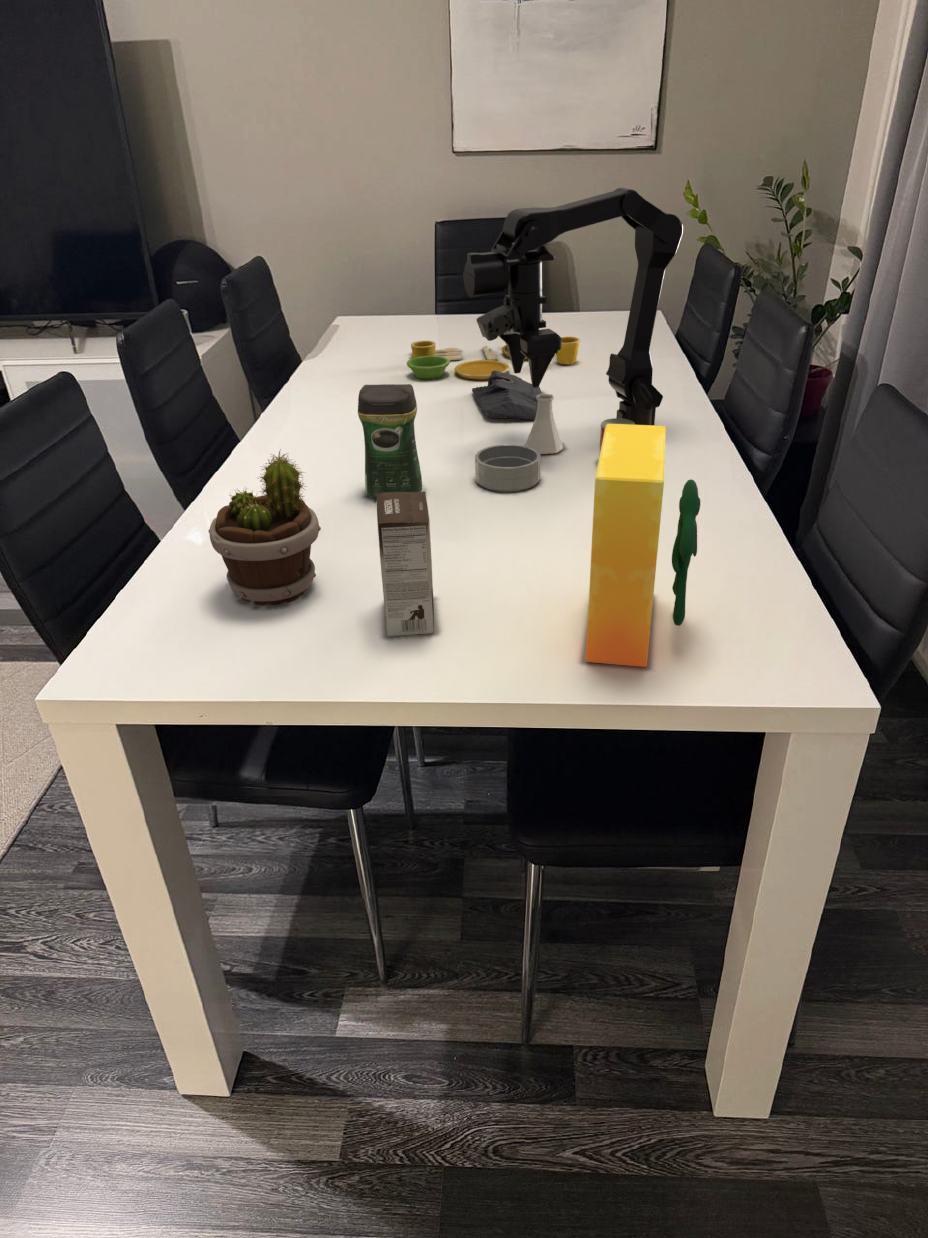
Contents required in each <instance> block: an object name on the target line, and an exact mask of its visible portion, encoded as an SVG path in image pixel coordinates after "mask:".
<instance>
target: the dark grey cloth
mask: <svg viewBox="0 0 928 1238" xmlns="http://www.w3.org/2000/svg"><path fill="white" fill-rule="evenodd" d="M471 392H472V395H473V396H474V399H475V400H476V402H477V403H478V405H479V406H480V408H481V409H482V411H483V413H484V414H485V415H486V416H487V417H489V418H496V419H519V420H520V419H521V420H532V421H534V420H535V417H536V413H537V408H538V400H537V398H536V396H537V395H539V394H543V393H542V389H541V387H540V386H539V387H535V388H534V387H532V383H531V382H528V381H526V380H523V379H522V378H521V377H519V376H517V375H516V374H510V373H507V372H506V373H502V372H499V371H492V373H491V376H490V377H489V378H488V379H487V385H483V386H476V387H472V389H471Z"/></svg>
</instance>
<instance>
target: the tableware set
mask: <svg viewBox="0 0 928 1238" xmlns="http://www.w3.org/2000/svg"><path fill="white" fill-rule="evenodd" d="M560 337H561V338H562V344H561V350H558V353H556V354H555V355H556V361H557V363H558V364H561V365H573V364H575V363H576V362H577V358H578V353H579V348H580V343H581V342H580V341H581V339H580V338H579V337H576V336H560ZM436 345H437V344H436V342H435V341H433V340H418V341H414V342H412V343H410V347H411V358H410V359H408V360H407V361H406V366H407V367H408V369H410V370H411V371H412V374H414V376H415V377H416V378H418V379H419V380H420V379H421V380H435V379H438V378H440V377H442V376H443V374H444V373H445V371H446V369H447V367H448V366H449V365H450V363H451V361H460V360H462V354H461V352H460V351H461V349H460V348H459V347H447V348H443V349H436ZM482 350H483V354H484V357H485V359H479V360H469V361H464V362H461V363H459V364H457V365H456V366H455V367H454V368H453V369H454V370H453V371H454V372H455V373H456V374H458V376H459V377H461V378H464V379H469V380H488V378H489V377H490V376H491V373H492V371H499V372H502V373H506V374H507V372H508V371H509V370H510V365H509V364H508V363H505V362H503V361H499V360H497V355H496V353H495V352H494V351H490V347H489V345H484V346H483V347H482ZM501 351H502V353H503V354H505V356H506V357H508V358H510V356H509V352H508V349H507V346H506V344H505V345H504V346H502V347H501ZM524 360H528V358H527V357H526V356H525V359H524Z"/></svg>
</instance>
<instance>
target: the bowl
mask: <svg viewBox="0 0 928 1238" xmlns="http://www.w3.org/2000/svg"><path fill="white" fill-rule="evenodd" d="M541 459H542V458H541V454H540V453H539V452H538V451H537V450H535V449H533V448H530V447H527V446H525V445H522V444H510V443H507V444H496V445H491V446H487V447H483V448H481V449H480V450H477V451H476V453H475V454H474V473H475V481H476V483H477V484H478V485H479V486H481V487H483V488H484V489H486V490H490V491H493V492H498V493H499V492H500V493H513V492H514V493H515V492H522V491H526V490H528V489H531V488H533V487H534V486H535V485H537V484H538V483H539V482H540V480H541V462H542V461H541Z"/></svg>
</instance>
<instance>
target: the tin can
mask: <svg viewBox="0 0 928 1238" xmlns="http://www.w3.org/2000/svg"><path fill="white" fill-rule="evenodd" d="M607 424H629V425H635V423H634V422H633V421H631V420H627V419H621V418H616V417H615V418H614V417H613V418H608V419H607V418H606V419H604V420H602V421H601V422H600V430H599V431H600V432H599V433H600V434H599V453H598V458H599V457H600V452H601V447H602V442H603V437H604V432H605V427H606V425H607Z"/></svg>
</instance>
